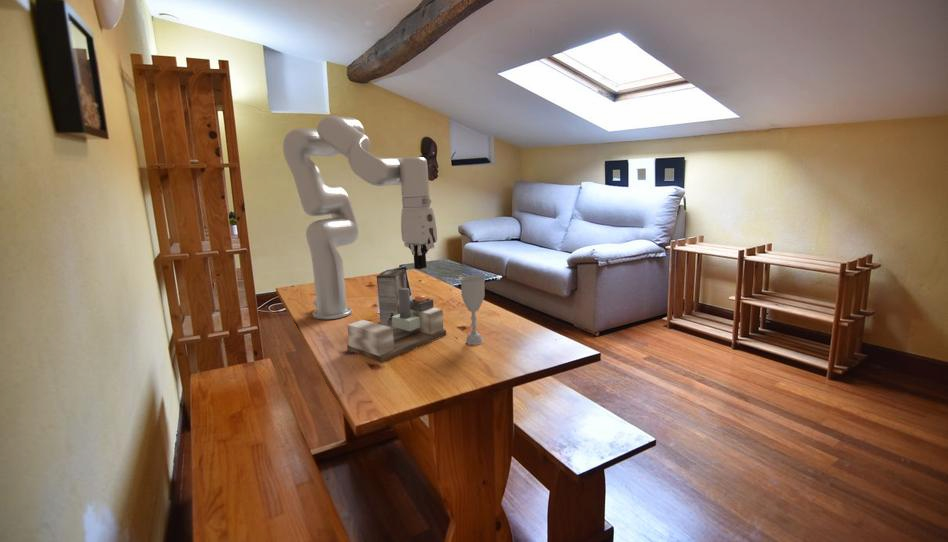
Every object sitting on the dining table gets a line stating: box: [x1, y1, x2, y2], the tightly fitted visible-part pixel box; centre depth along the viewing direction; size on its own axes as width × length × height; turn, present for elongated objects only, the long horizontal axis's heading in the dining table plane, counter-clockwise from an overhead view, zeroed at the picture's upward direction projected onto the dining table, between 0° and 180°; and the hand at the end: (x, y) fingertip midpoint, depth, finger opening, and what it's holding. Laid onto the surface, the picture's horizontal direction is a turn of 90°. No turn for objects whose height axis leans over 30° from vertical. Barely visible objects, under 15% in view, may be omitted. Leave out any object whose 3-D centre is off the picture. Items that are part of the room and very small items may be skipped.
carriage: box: [391, 287, 420, 331], centre depth 136 cm, size 7×4×11 cm, turn 51°
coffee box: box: [376, 269, 408, 328], centre depth 151 cm, size 9×6×16 cm
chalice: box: [458, 274, 487, 346], centre depth 133 cm, size 7×7×18 cm
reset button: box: [414, 294, 427, 303], centre depth 141 cm, size 3×3×2 cm
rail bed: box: [346, 297, 447, 363], centre depth 135 cm, size 14×24×10 cm, turn 141°
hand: (420, 268), depth 138 cm, fingers closed
